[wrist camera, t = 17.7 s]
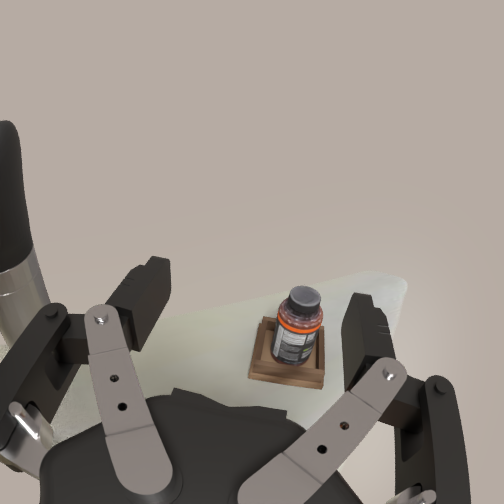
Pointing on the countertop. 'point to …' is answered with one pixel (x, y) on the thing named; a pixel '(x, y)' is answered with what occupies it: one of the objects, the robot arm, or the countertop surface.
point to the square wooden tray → (281, 373)
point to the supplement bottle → (297, 326)
